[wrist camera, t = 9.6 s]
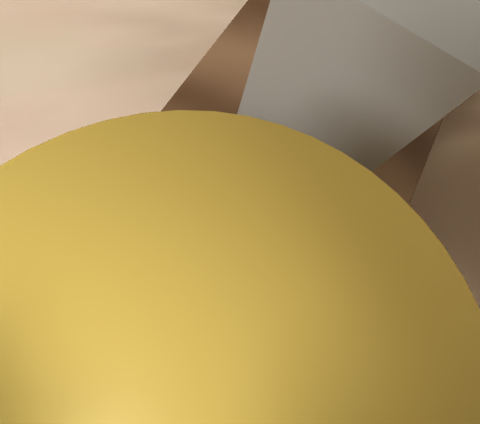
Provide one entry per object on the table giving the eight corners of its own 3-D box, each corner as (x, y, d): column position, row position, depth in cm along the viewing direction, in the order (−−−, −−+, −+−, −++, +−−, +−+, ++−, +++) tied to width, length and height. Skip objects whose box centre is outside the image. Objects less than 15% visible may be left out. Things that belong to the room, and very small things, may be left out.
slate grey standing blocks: (335, 199, 17) (493, 79, 9) (230, 136, 17) (283, -44, 9) (421, 21, 22) (577, -168, 13) (339, -27, 22) (442, -248, 13)
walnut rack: (247, 574, 13) (261, 622, 11) (-49, 397, 13) (-92, 412, 11) (459, 53, 23) (486, 27, 21) (292, -45, 23) (303, -81, 21)
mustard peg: (285, 311, 14) (565, 284, 4) (211, 464, 12) (400, 1222, 2) (160, 237, 14) (120, 21, 4) (66, 378, 12) (-508, 670, 2)
